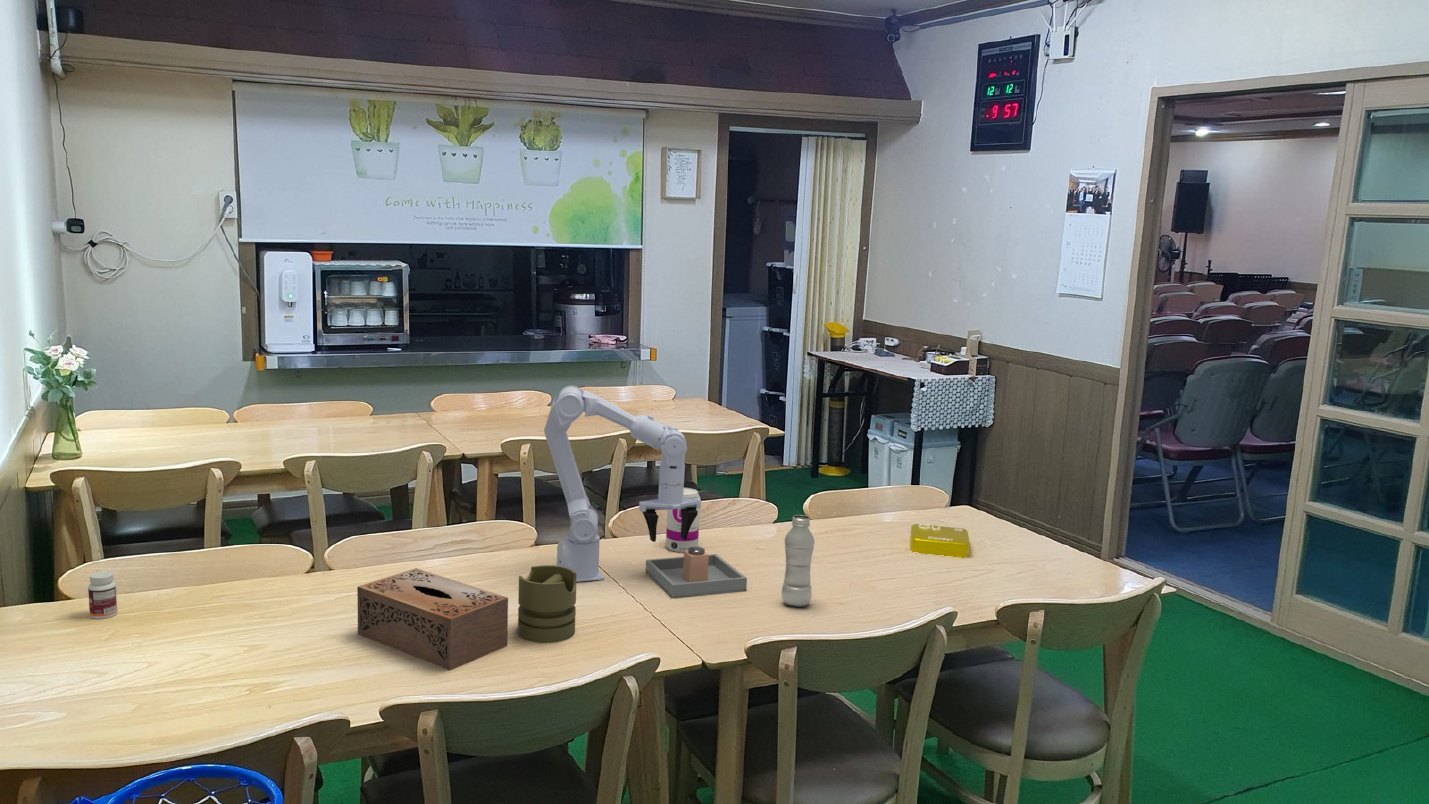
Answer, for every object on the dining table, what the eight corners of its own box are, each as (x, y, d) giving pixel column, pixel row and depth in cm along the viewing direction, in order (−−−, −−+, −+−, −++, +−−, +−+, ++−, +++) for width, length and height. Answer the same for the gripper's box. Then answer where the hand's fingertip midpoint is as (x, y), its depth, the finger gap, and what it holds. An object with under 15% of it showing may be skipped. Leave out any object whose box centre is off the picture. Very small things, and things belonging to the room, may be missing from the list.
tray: (672, 598, 232) (672, 585, 231) (645, 572, 248) (646, 559, 247) (746, 590, 239) (746, 578, 238) (715, 565, 255) (716, 553, 254)
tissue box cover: (507, 647, 202) (508, 597, 200) (450, 671, 190) (450, 619, 188) (416, 614, 216) (416, 568, 214) (357, 635, 204) (357, 586, 202)
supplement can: (697, 554, 263) (700, 496, 261) (664, 552, 263) (667, 494, 261) (698, 544, 271) (701, 488, 269) (666, 542, 271) (669, 486, 269)
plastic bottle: (809, 611, 228) (815, 522, 224) (778, 607, 229) (784, 519, 226) (812, 601, 234) (818, 514, 231) (782, 598, 235) (788, 511, 232)
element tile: (909, 554, 273) (911, 536, 272) (910, 538, 288) (911, 521, 287) (968, 560, 271) (970, 542, 270) (966, 543, 285) (967, 526, 284)
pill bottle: (92, 611, 208) (90, 571, 207) (119, 609, 210) (117, 569, 208) (87, 620, 204) (85, 579, 202) (115, 618, 205) (113, 577, 204)
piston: (508, 579, 204) (534, 562, 214) (507, 638, 206) (532, 618, 216) (562, 587, 201) (585, 569, 211) (561, 646, 203) (583, 626, 213)
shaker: (689, 583, 240) (691, 553, 239) (682, 576, 244) (684, 547, 243) (707, 581, 242) (708, 551, 241) (700, 575, 246) (701, 545, 245)
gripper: (647, 488, 235) (644, 546, 237) (707, 485, 240) (703, 542, 242) (637, 480, 241) (634, 537, 243) (695, 478, 247) (692, 533, 249)
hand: (668, 539), depth 243 cm, fingers open, 7 cm apart
